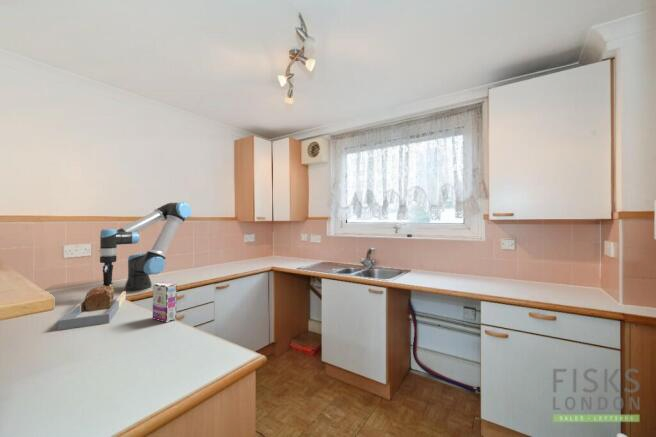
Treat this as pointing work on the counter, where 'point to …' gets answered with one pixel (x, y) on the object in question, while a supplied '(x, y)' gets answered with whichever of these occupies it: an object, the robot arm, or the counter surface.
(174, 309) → the candy bar box
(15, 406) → the counter surface
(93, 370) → the counter surface
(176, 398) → the counter surface
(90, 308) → the bread
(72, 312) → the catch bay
